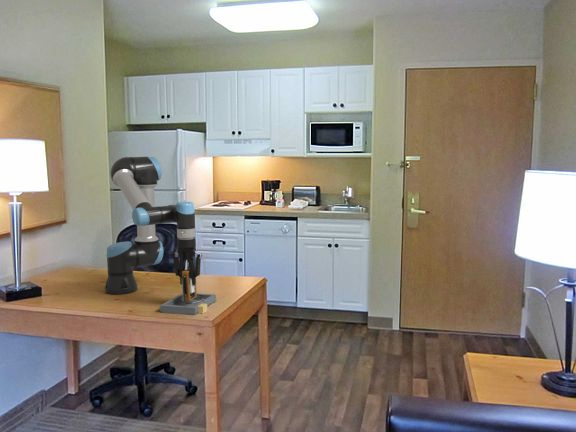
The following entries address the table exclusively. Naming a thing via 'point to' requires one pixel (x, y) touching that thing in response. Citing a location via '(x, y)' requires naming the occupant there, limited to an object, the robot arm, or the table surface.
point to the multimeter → (188, 285)
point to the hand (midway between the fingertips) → (188, 292)
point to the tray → (180, 307)
